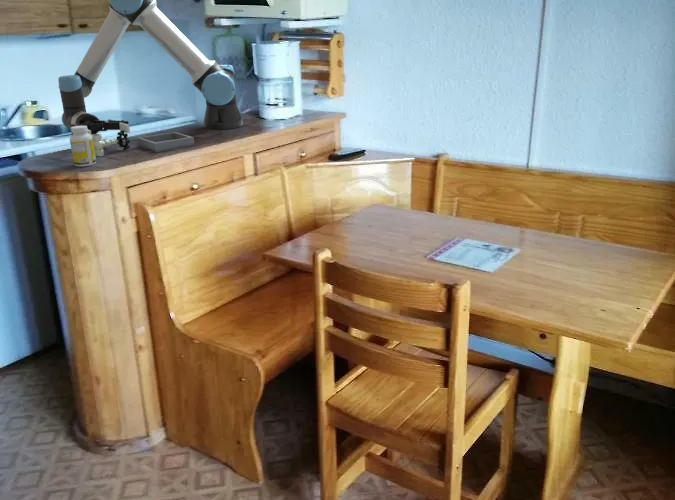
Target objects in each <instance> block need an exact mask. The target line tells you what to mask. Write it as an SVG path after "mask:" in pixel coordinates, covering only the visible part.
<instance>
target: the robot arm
mask: <svg viewBox="0 0 675 500" xmlns="http://www.w3.org/2000/svg"><path fill="white" fill-rule="evenodd" d="M108 1H109V6H108V7H109V13H108V14H107V16H106V18H105V20H104V21H103V23H102V25H101V27H100V28H99V31H97V33H96V36H95V37H94V39H93V40H92V43H91V44H90V46H89V47H88V50H87V51H86V53H85V55H84V57H83V58H82V60H81V62H80V63H79V65H78V67H77V69H76V71H75V72H74V74H69V75H62V76H59V77H58V79H57V80H58V81H57V82H58V89H59V94H60V97H61V98H60V99H61V103H62V110H63V113H62V114H61V122H62V124H63V126H64V127H66V128H67V129H68V130H70V132H71V127H74V126H87V129H88V131H87V133H88V134H90V135H91V136H92V135H93V134H99V132H106V131H110V130H111V131H119V132H120V131H122V130H124V134H125V133H127V134H131V129H130V128H131V127H130V124H129V121H127V120H124V119H122V120H114V119H110V118H109V119H107V120H100V119H99V118H98V117H97V116H96V115H95V114H91V113H89V112H87V109H86V103H85V102H86V101H85V98H87V97H88V96H90V94H91V93H92V91H93V87H94V85H95V84H96V81H97V80H98V78H99V77H100V75H101V73H102V72H103V70H104V68H105V66H106V64H107V63H108V61H109V59H110V58H111V56H112V55H113V53H114V51H115V49H116V47H117V45H119V43H120V41H121V39H122V37H123V35H124V34H125V31H126V30H127V29H128V28H129V26H130V24H131V25H133V26H138V27H139V26H140V27H141V28H142V29H143V30H144V31H145V32H146V33H147V34H148V35H149V37H151V38H152V39H153V40H154V41H155V42H156V43H157V44H158V45H159V46H160V47H161V48H162V49H163V50H164V51H165V52H166V53H167V54H168V55H169V56H170V57H171V58H172V59H173V60H174V61H175V62H176V63H177V64H178V65H179V66H180V67H181V68H182V69H183V70H184V71H185V72H186V73H187V74H188V75H189V77H191V84H192V85H193V86H194V87H195V88H196V89H197V90H198V91H199V92H200V93H201V94H202V96H203V97H204V100H205V105H206V106H205V113H204V118H203V128H204V129H207V130H230V129H235V128H240V127H242V126H243V124H244V123H243V117H242V115H241V113H240V110H239V107H238V105H237V95H236V91H237V90H236V81H235V69H234V67H233V65H231V64H219V63H218V62H217V61H216V60H215V59H214V60H213V59H212V60H211V59H209V58H207V57H206V56H205V55H204V54H203V52H201V51H200V50H199V49H198V48H197V47H196V46H195V44H193V42H191V40H189V39H188V37H186V35H185V34H183V32H182V31H180V29H178V28H177V26H176V25H175V24H174V23H173V22H171V20H170V19H169V18H168V17H167V16H166V15H165V14H164V13H163V12H162V11H161V10H160V9H159V8H158V7H157V5H158V3H157V0H108ZM72 135H73V133H72V132H71V136H72Z"/></svg>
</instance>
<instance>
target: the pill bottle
mask: <svg viewBox="0 0 675 500" xmlns="http://www.w3.org/2000/svg"><path fill="white" fill-rule="evenodd" d="M87 131H88V129H87V126H74V127H71V130H70V132H72V133H73V135H72V133H71V135H70V137H69V144H70V149H71V154H72V160H73V165H74V166H75V167H80V168H81V167H83V168H84V167H89V166H93V165H95V164H96V163H97V158H96V157H97V156H95V151H94V145H93V139H92V136H91V135H90V134H88V133H87Z"/></svg>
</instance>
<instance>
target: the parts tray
mask: <svg viewBox="0 0 675 500" xmlns="http://www.w3.org/2000/svg"><path fill="white" fill-rule="evenodd" d="M137 145H138V147H139V148H142V149H144V150H148V151H151V152H153V153H155V154H157V153H162V152H167V151H173V150H179V149H185V148H186V149H187V148H191V147H195V139H194V136H190V135H187V134H184V133H182V132H181V133H180V132H177V131H173V132H165V133H160V134H158V133H157V134H153V135H146V136H140V137H137Z"/></svg>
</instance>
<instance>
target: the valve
mask: <svg viewBox="0 0 675 500" xmlns="http://www.w3.org/2000/svg"><path fill="white" fill-rule="evenodd" d="M128 134H129V133H125V132H124V130H122V131H120V130H119V132H117V134H116V135H117V136H116V139H113V138H112V139H108V138H103V136H102V134H101V133H97V134H93V135H92V139H93V145H94V151H95V157H103V156H105V150H104V149H109V148H110V147H111V146H115V145H117V144H118V145H119V147H120V148H122V150H123V151H126V150H128V149H130V145H129V143H131V141H130V139H128V137H129V135H128ZM124 143H125V144H124Z"/></svg>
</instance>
